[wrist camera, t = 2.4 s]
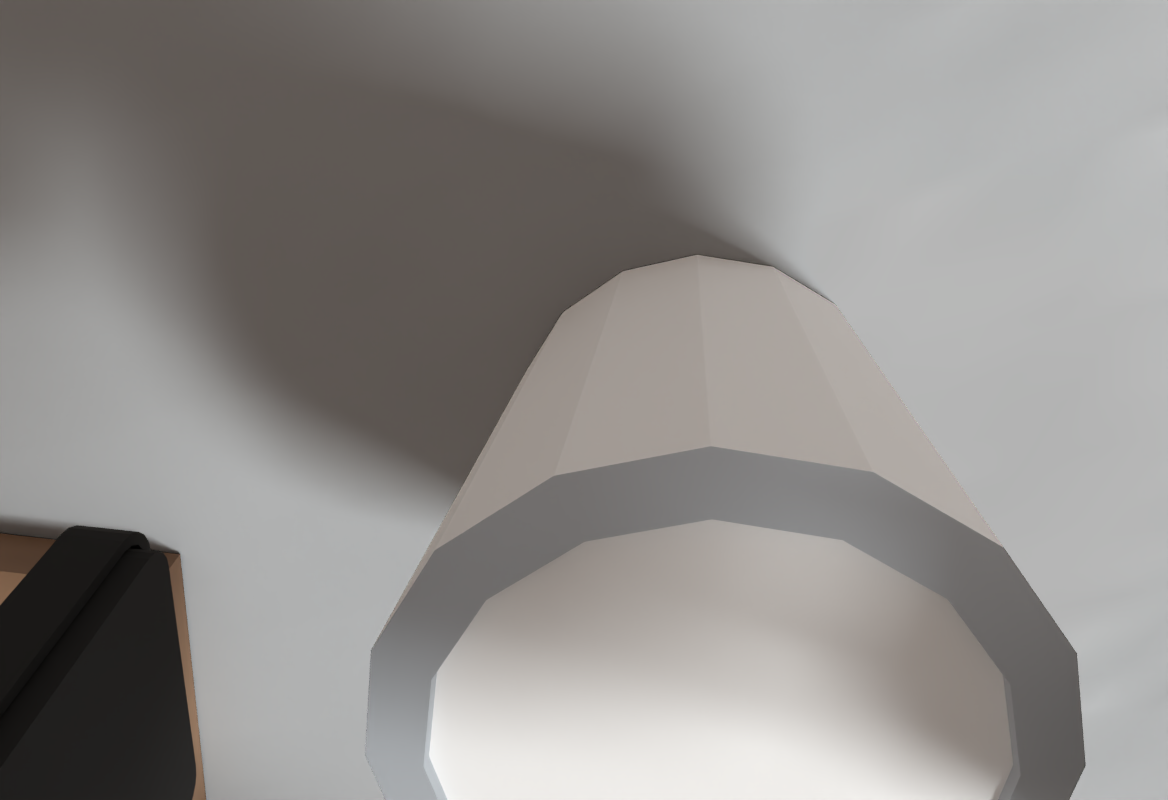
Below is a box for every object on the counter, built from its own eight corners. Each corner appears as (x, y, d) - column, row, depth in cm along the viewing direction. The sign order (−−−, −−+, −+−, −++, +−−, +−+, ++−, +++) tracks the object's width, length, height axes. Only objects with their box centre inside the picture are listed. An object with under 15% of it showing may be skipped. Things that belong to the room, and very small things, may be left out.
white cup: (810, 658, 18) (883, 1071, 12) (429, 531, 17) (292, 892, 11) (1013, 309, 15) (1256, 613, 9) (560, 143, 14) (469, 338, 8)
